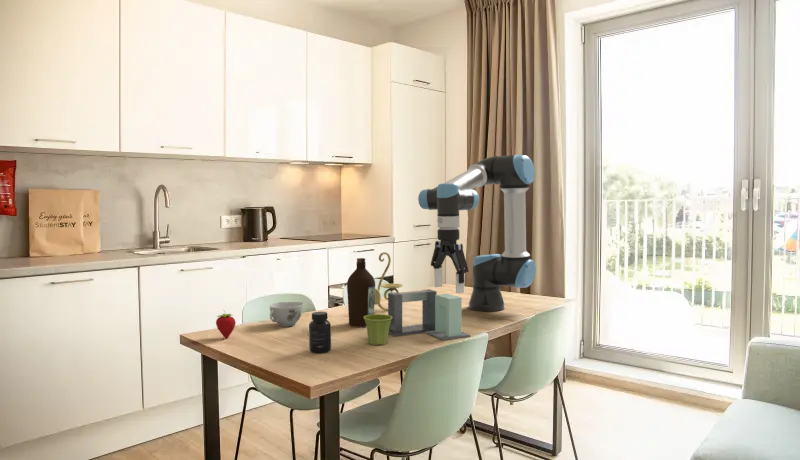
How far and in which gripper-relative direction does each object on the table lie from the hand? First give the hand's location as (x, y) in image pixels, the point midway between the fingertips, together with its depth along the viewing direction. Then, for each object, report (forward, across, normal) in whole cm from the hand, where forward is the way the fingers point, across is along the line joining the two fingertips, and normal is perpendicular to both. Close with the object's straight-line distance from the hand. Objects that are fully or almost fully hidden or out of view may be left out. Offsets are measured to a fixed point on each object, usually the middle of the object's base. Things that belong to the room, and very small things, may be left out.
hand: (448, 289), depth 194 cm
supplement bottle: (+15, -2, -47) cm, 49 cm away
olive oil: (+16, -29, -21) cm, 39 cm away
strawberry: (+15, -32, -70) cm, 78 cm away
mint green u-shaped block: (+15, 0, -1) cm, 15 cm away
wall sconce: (+16, -47, -1) cm, 50 cm away
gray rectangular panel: (+16, 0, -1) cm, 16 cm away
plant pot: (+16, -2, -27) cm, 31 cm away
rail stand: (+16, -11, -9) cm, 21 cm away
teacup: (+16, -41, -47) cm, 64 cm away
